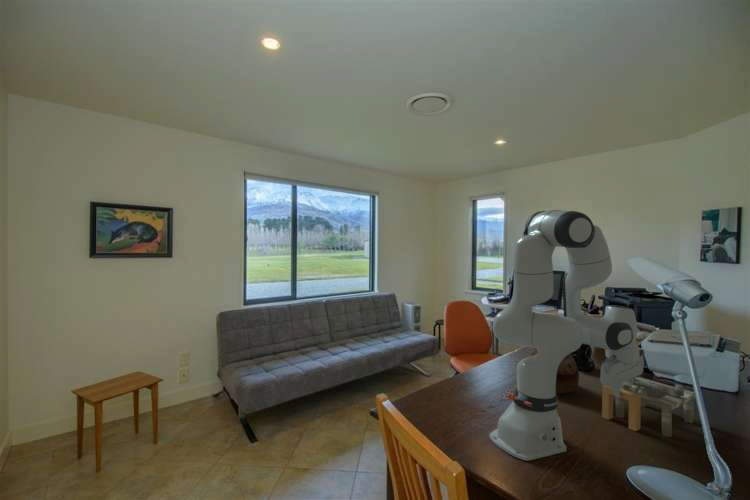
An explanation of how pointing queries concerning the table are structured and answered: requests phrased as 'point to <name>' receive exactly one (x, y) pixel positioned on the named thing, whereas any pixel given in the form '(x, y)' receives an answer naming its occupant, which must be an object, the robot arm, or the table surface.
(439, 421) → the table surface
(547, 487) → the table surface
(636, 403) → the wooden mini bench
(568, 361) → the ceramic pitcher
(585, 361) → the movie camera
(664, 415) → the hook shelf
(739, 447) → the table surface
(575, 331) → the robot arm
